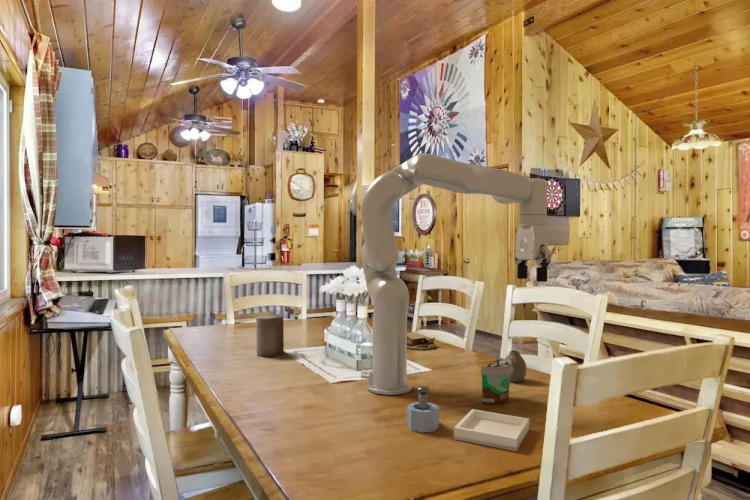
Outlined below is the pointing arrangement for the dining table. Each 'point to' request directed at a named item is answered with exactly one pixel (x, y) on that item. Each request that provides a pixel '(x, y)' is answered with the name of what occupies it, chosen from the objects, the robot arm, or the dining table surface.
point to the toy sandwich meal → (419, 342)
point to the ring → (422, 417)
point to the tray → (492, 429)
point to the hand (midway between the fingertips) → (531, 280)
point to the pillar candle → (269, 335)
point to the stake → (422, 397)
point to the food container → (496, 382)
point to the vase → (517, 366)
